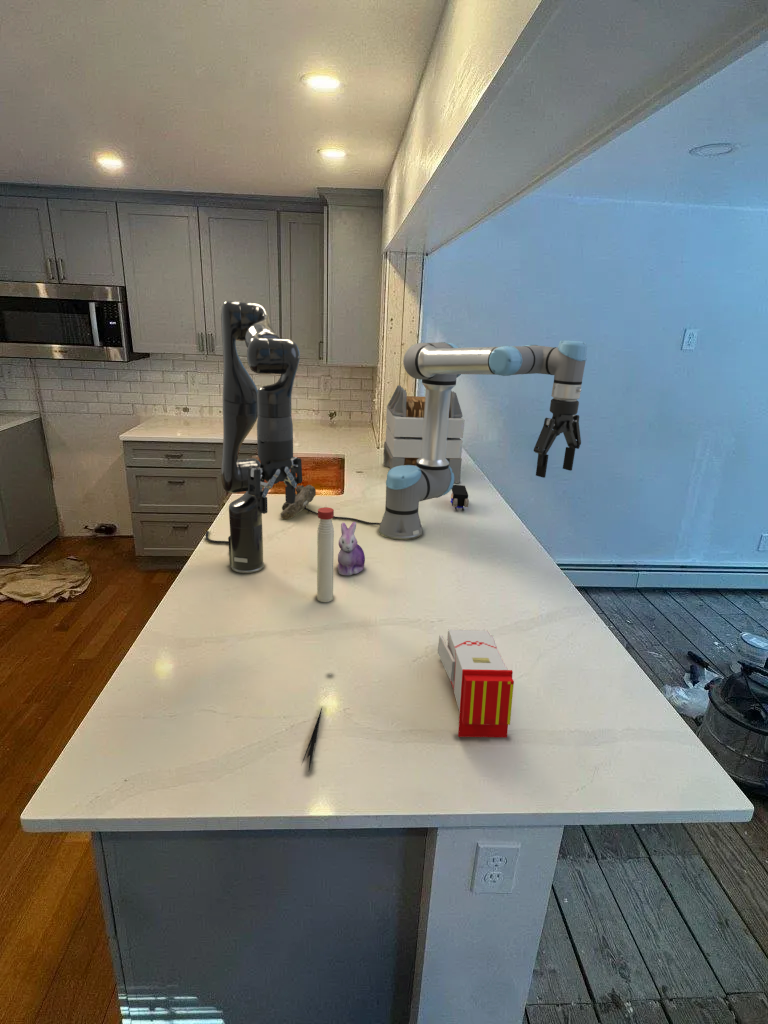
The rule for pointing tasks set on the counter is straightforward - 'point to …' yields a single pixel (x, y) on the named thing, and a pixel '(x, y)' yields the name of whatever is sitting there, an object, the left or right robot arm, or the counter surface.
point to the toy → (478, 682)
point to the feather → (313, 740)
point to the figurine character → (459, 497)
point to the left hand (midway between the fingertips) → (276, 507)
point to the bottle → (325, 560)
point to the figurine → (350, 552)
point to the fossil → (298, 501)
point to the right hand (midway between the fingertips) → (554, 473)
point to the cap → (325, 513)
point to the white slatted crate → (419, 431)
